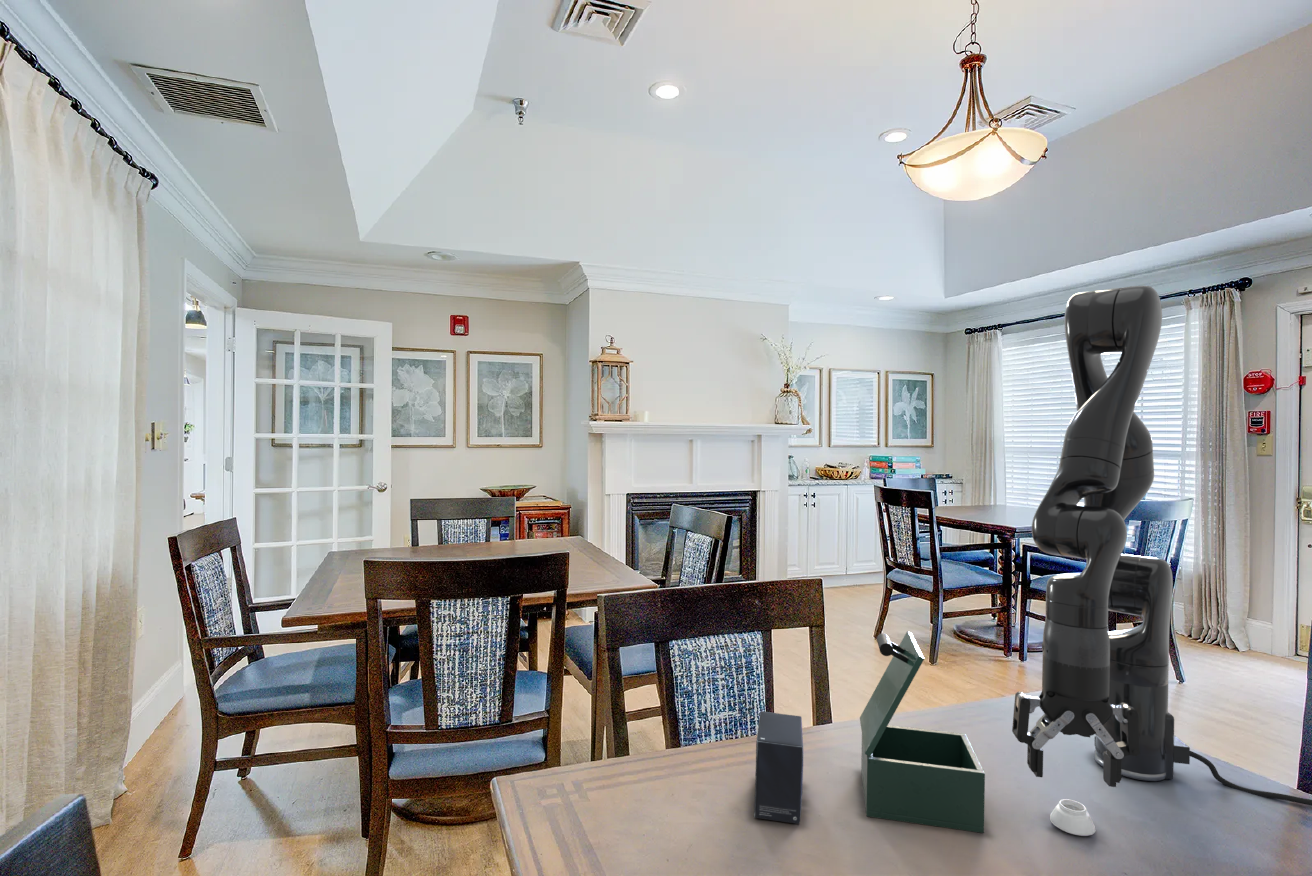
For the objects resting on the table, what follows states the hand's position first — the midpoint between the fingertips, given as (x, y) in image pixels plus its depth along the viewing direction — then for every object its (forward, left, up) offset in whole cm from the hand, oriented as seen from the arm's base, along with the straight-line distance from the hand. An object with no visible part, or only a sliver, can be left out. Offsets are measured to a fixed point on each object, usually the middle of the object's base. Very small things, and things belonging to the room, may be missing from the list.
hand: (1073, 779), depth 88 cm
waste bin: (+19, -2, -7) cm, 20 cm away
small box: (+38, +4, -7) cm, 39 cm away
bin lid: (+22, -2, +8) cm, 24 cm away
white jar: (0, 0, -7) cm, 7 cm away
